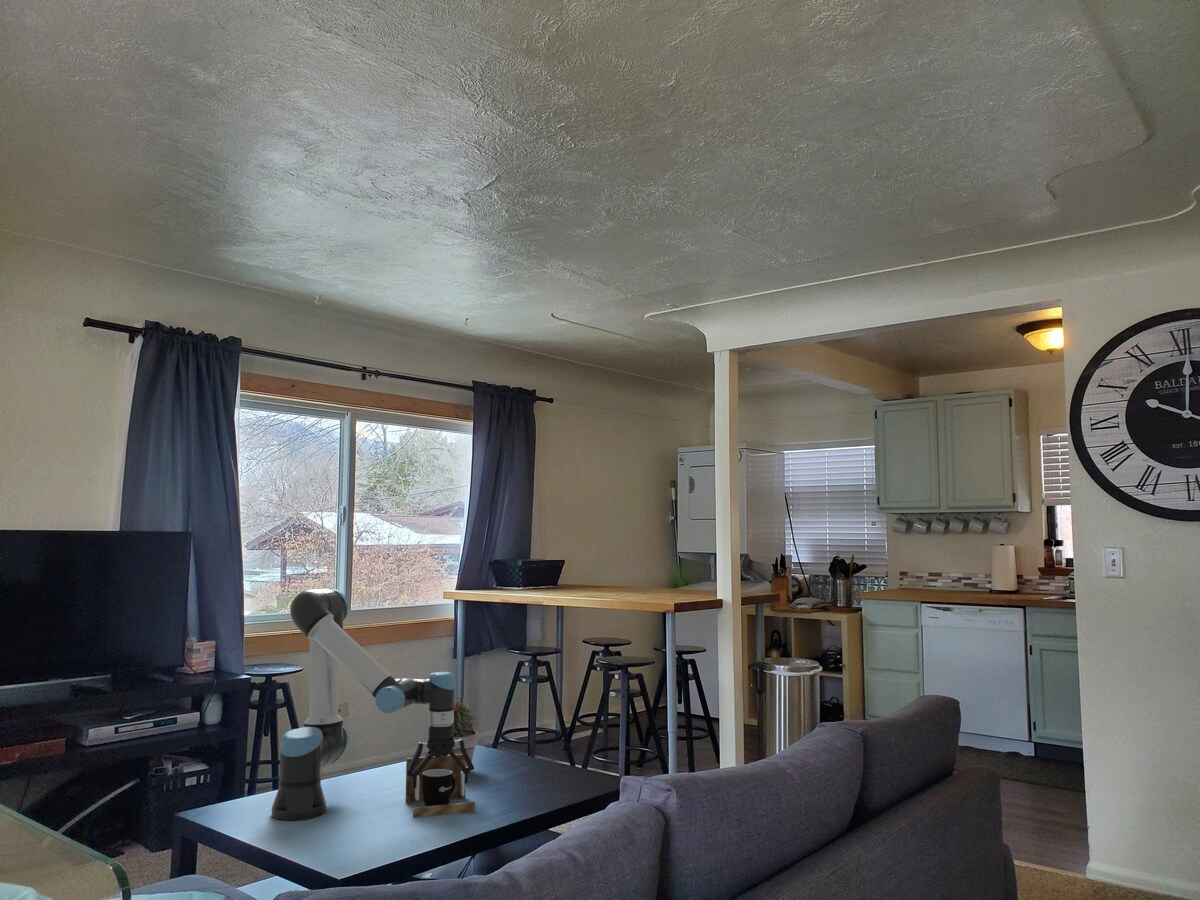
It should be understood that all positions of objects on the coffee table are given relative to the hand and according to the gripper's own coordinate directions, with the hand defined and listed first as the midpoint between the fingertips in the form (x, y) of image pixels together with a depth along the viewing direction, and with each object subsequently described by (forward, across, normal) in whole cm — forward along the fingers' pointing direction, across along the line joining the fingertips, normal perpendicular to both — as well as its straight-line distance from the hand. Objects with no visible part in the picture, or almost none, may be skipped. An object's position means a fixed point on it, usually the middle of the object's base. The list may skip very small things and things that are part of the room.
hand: (439, 797), depth 263 cm
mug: (+3, 0, 0) cm, 3 cm away
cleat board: (+3, 0, 0) cm, 3 cm away
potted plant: (+3, +12, +41) cm, 43 cm away
